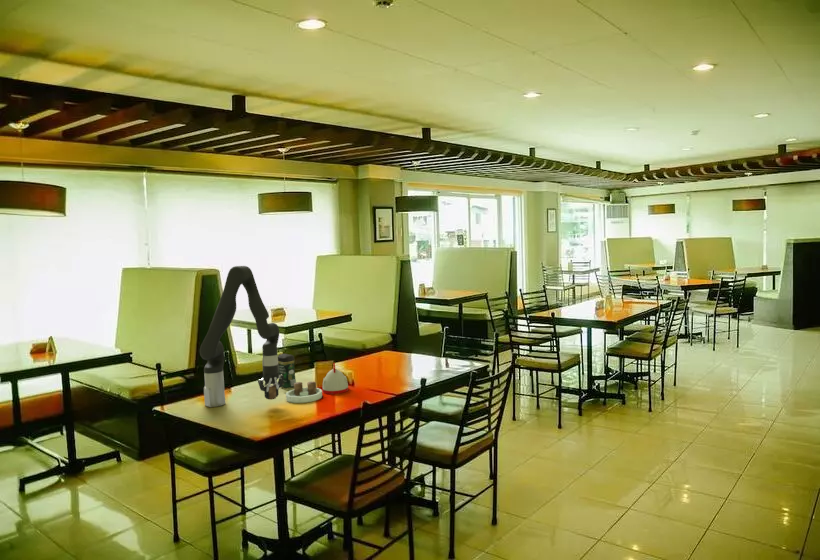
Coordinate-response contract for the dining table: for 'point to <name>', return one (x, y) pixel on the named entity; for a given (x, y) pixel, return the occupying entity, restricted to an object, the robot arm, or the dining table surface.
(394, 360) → the dining table surface
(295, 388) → the bead
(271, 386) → the brown short cylinder
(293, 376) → the coffee jar
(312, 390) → the bead
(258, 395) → the dining table surface
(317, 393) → the tray
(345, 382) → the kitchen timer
